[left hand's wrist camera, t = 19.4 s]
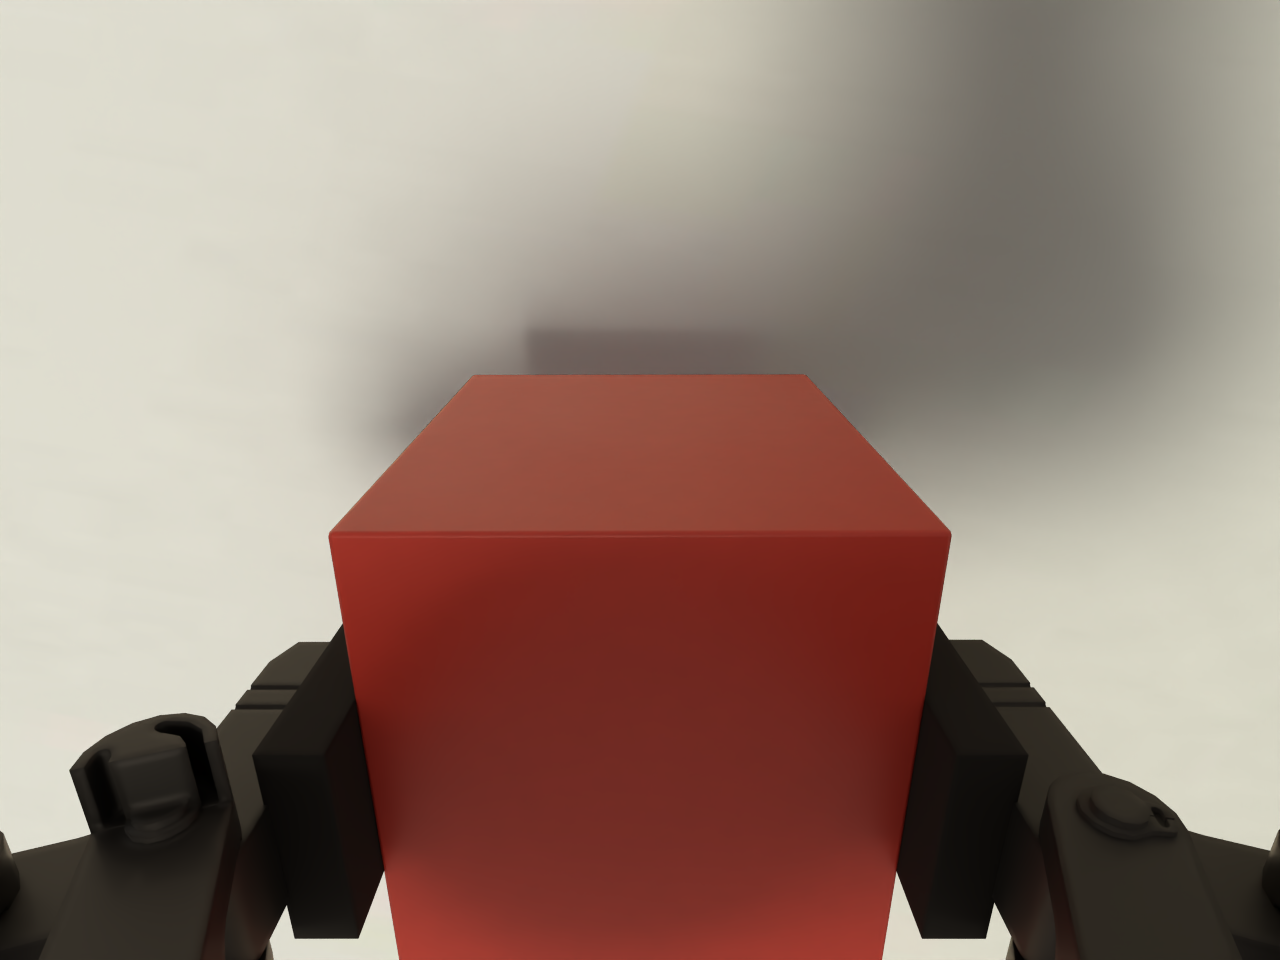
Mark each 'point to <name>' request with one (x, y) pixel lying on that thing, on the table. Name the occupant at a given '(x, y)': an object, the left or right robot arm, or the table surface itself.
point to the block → (640, 670)
